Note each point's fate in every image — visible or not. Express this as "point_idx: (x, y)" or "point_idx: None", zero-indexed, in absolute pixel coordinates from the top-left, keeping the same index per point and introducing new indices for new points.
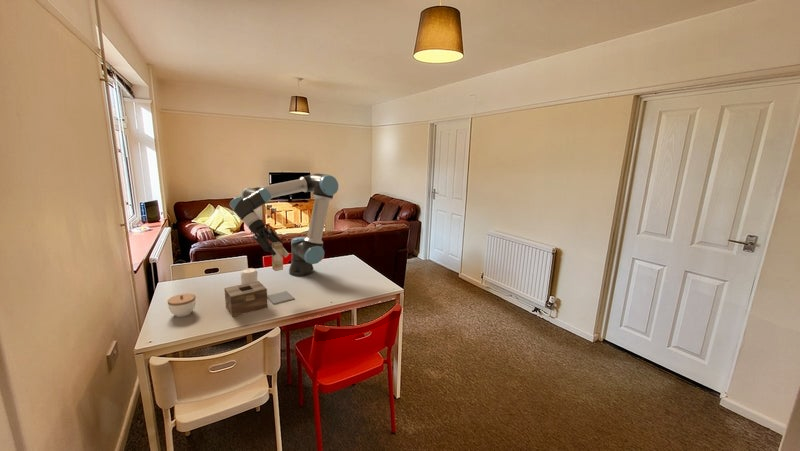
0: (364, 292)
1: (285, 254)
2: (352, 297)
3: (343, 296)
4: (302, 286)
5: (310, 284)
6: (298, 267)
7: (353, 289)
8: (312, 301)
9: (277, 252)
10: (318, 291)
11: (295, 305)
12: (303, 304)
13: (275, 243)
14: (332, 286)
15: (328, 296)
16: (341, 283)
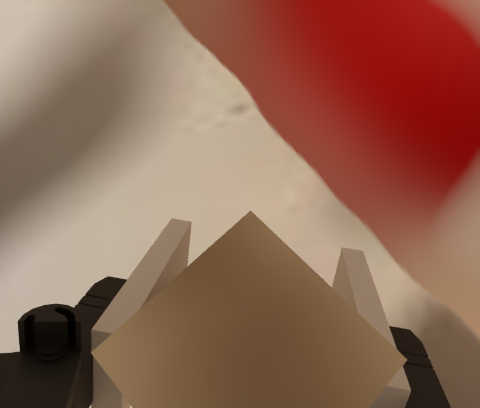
0: (123, 11)
1: (181, 267)
2: (179, 43)
3: (172, 76)
4: (49, 303)
5: (18, 265)
6: None
7: (90, 52)
8: (245, 187)
9: (362, 304)
10: (121, 193)
11: (305, 252)
12: (286, 218)
13: (289, 382)
14: (52, 144)
15: (179, 134)
16: (11, 112)
